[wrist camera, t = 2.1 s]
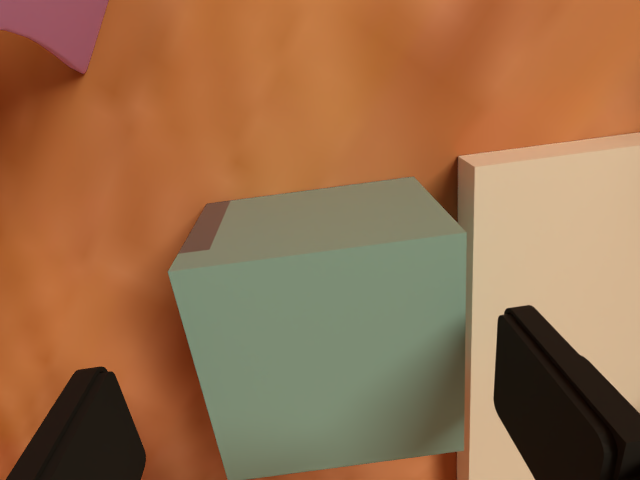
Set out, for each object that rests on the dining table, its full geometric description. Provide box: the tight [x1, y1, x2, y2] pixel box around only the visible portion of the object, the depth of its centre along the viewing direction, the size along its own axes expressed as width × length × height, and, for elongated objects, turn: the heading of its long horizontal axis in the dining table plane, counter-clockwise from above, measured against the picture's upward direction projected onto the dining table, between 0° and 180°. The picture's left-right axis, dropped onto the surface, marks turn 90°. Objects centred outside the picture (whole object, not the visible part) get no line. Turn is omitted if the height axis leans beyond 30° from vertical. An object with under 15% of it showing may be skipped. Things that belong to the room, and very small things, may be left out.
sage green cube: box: [168, 177, 467, 480], centre depth 14 cm, size 7×7×5 cm
